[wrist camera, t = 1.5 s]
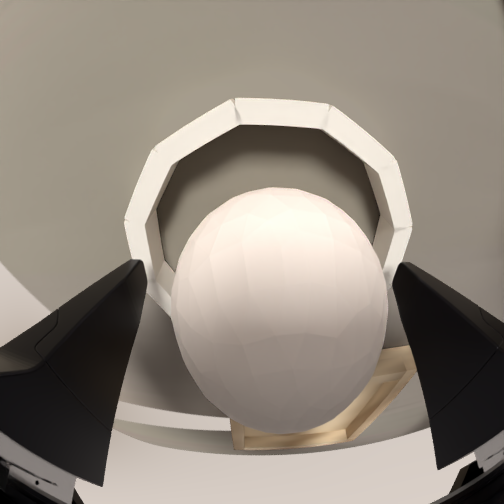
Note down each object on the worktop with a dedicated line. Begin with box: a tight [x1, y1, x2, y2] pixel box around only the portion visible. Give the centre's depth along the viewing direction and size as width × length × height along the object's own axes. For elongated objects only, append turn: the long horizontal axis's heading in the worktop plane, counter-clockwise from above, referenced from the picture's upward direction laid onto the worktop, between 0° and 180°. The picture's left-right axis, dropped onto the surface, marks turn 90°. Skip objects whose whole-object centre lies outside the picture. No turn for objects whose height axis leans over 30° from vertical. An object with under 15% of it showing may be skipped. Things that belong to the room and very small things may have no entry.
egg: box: [171, 187, 388, 434], centre depth 8 cm, size 6×6×8 cm
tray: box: [230, 345, 417, 450], centre depth 18 cm, size 12×14×2 cm
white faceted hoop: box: [124, 98, 412, 317], centre depth 10 cm, size 11×11×1 cm
